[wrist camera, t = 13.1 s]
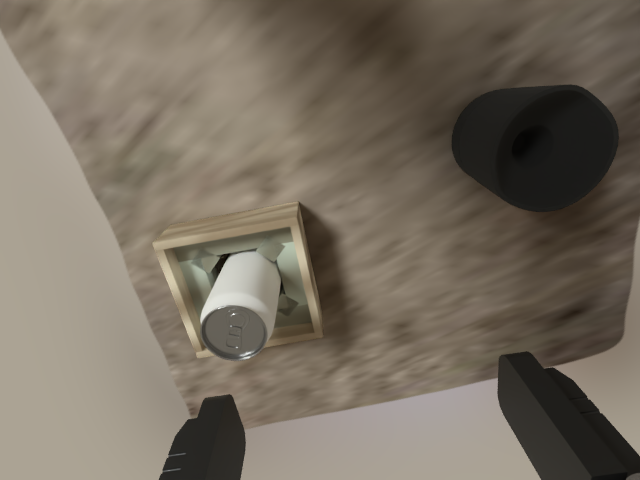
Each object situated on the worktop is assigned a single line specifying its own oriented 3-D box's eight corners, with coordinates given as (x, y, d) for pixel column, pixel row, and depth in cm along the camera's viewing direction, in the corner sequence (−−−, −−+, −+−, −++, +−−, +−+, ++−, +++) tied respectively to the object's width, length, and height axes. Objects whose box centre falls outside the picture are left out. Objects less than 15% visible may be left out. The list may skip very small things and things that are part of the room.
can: (287, 249, 41) (279, 309, 30) (276, 298, 43) (265, 370, 32) (229, 237, 40) (199, 294, 29) (221, 287, 43) (190, 358, 32)
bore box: (170, 224, 39) (152, 243, 35) (298, 201, 39) (296, 217, 34) (209, 330, 45) (197, 358, 40) (321, 311, 44) (323, 337, 40)
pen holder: (454, 193, 39) (498, 226, 30) (438, 102, 35) (483, 109, 26) (543, 166, 38) (618, 192, 29) (537, 71, 34) (619, 66, 25)
